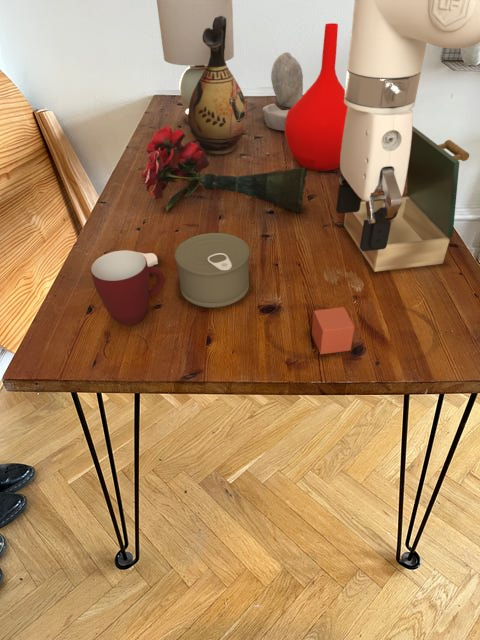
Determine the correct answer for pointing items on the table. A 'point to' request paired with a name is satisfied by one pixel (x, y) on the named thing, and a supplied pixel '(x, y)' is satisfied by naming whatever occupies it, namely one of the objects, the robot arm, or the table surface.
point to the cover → (434, 179)
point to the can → (213, 269)
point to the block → (332, 330)
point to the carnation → (189, 161)
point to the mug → (125, 284)
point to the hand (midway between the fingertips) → (359, 229)
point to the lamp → (192, 36)
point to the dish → (275, 117)
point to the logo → (150, 259)
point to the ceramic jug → (217, 99)
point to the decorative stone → (287, 80)
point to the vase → (319, 115)
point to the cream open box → (402, 238)
